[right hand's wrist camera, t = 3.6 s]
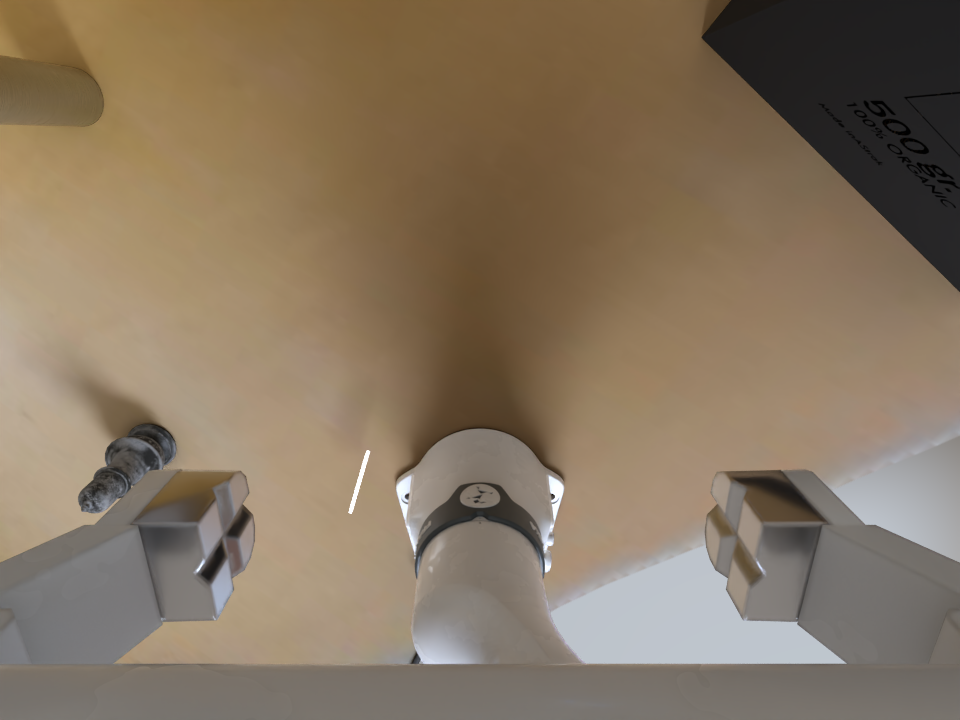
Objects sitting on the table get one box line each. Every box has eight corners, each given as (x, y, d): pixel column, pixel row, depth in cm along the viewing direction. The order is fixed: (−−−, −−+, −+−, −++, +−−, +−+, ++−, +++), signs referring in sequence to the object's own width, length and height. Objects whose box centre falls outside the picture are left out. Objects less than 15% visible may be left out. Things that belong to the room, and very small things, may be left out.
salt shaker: (115, 450, 64) (38, 516, 53) (138, 411, 63) (63, 471, 51) (164, 477, 66) (99, 548, 54) (188, 440, 64) (126, 505, 53)
